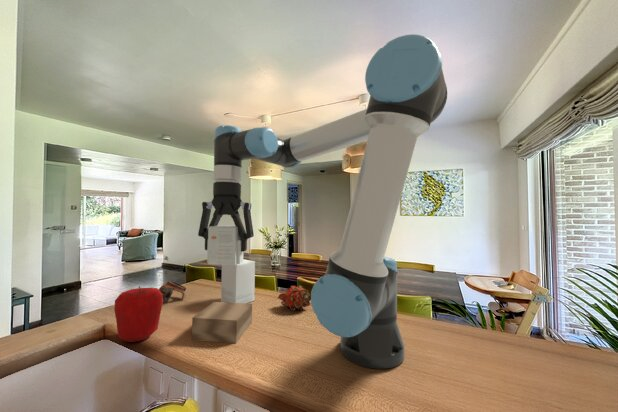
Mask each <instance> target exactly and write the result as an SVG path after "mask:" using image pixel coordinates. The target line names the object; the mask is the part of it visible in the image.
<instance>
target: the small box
mask: <svg viewBox="0 0 618 412" xmlns="http://www.w3.org/2000/svg"><path fill="white" fill-rule="evenodd" d="M238 240H240V236H239V234H238V227H236V226H235V225H217V226H210V227H209V226H208V263H207V265H210V266H211V265H214V266H216V265H217V266H219V265H220V266H222V265H237V247H238Z"/></svg>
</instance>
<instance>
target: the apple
mask: <svg viewBox="0 0 618 412" xmlns="http://www.w3.org/2000/svg"><path fill="white" fill-rule="evenodd" d="M163 304H164V303H163V296H162V293H161V292H160V291H159V288H157V287H141V286H140V285H138V287H137V288H131V289H128V290H126V291H123V292H121V293H120V294H119V295H118V296H117V297H116V298H115V300H114V314H115V320H116V330H117V337H118V338H119V339H121V340H123V341H124V342H128V343H133V342H134V343H135V342H139V341H143V340H146V339H148V338H149V337H150V336H151V335H153V334H154V333H155V332H156V331H157V330H158V328H159V323H160V318H161V312H162V308H163Z"/></svg>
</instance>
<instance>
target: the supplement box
mask: <svg viewBox="0 0 618 412" xmlns="http://www.w3.org/2000/svg"><path fill="white" fill-rule="evenodd" d="M255 276H256V260H250V259H249V260H248V259H244V258H243V263H241V264H237V265H221V281H220V282H221V283H220V287H221V289H220V292H221V294H220V296H221V297H220V302H228V303H246V304H250V303H252V302H255V288H256V287H255V285H256V284H255V283H256V282H255V281H256V280H255V279H256V277H255Z"/></svg>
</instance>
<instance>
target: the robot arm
mask: <svg viewBox="0 0 618 412" xmlns="http://www.w3.org/2000/svg"><path fill="white" fill-rule="evenodd" d="M364 82H365V86H366V91H367V93H368V95H370V96H369V100H368V104H367V108H365V109H362V110H360V111H357V112H355V113H354V112H353V113H352V114H350V115H347V116H343V117H341V118H338V119H337V120H336V119H335V120H334V121H331V122H329V123H325V124H323V125H320V126H318V127H315V128H312V129H310V130H307V131H304V132H302V133H299V134H296V135H294V136H292V137H289V138H286V139H282V138H279V137H277V134H276V133H275V132H274V130H273V129H272V128H270V127H267V126H262V127H253V128H250V129H246V130H242V129H240V128H239V127H237V126H235V125H225V124H224V125H219V126H217V127H216V128H215V131H214V132H215V133H214V140H213V146H214V147H213V148H214V149H213V151H214V152H213V153H214V154H213V177H212V178H213V182H214V183H212V184H213V187H212V189H213V190H212V194H213V197H212V200H211V201H203V202H202V203H201V207H202V212H201V217H200V222H199V228H198V232H197V233H198V234H197V236H198V237H201V238H203V239H204V251H206V253H207V254H206V256H207V257H206V263H207V264H208V227H210V226H219V223H220V220H221V218H222V217H223V216H230V218H231V219H232V221H233V223H234V226H236V227H238V234H239V236H240V240H238V247H237V264H241V263H243V259H244V254H245V252H246V251H247V249H248V247H247V246H248V240H249V239H251V238H253V237H254V236H255V235H254V228H253V227H254V226H253V221H252V215H251V213H252V212H251V209H252V203H251V202H243V201H242V198H241V195H242V184H241V183H240V182H241V181H242V161H245V160H257V161H261V162H264V163H268V164H272V165H273V164H274V165H277V166H281V167H282V168H286V169H287V168H290V169H291V168H292V169H294V168H297V167H298V166H299V165H300V164H301V163H302V161H306V160H309V159H313V158H316V157H320V156H322V155H327V154H329V153H332V152H336V151H339V150H343V149H346V148H349V147H352V146H355V145H359V144H362V143H365V142H366V146H365V148H364V152H363V157H362V161H361V164H360V168H359V171H358V177H357V180H356V184H355V187H354V192H353V196H352V199H351V203H350V207H349V211H348V215H347V219H346V222H345V227H344V231H343V234H342V239H341V242H340V245H339V248H338V249H336V250H334V251H333V252H331V253H330V255H329V258H328V262H327V267H326V271H325V274H324V275H322V276H320V277H319V278H318V279H317V281H316V282H315V283H314V284H313V286H312V288H311V293H310V296H311V300H310V305H311V307H312V312H313V313H314V314H315V316H316V319H317V321H318V322H319V324H320V325H321V326H322V327H323V328H324V329H326V330H327V331H328V332H329V333H331V334H333V335H335V336H338V337H340V340H339V341H340V343H339V344H340V347H339V348H340V352H341V353H342V355H343V356H344V357H345V358H347V360H349V361H351V362H352V363H355V364H356V365H358V366H359V365H360V366H362V367H365V368H371V369H383V370H384V369H385V370H386V369H391V368H394V367H398V366H399V365H401V364H402V363H403V361H404V360H405V343H404V340H403V337H402V334H401V331H400V328H399V324H398V316H397V315H398V274H399V271H398V264H397V261H396V260H395V259H394V258H391V257H387V256H386V257H385V254H386V251H387V249H388V244H389V241H390V237H391V235H392V234H391V233H392V230H393V227H394V222H395V219H396V215H397V211H398V208H399V205H400V202H401V201H400V200H401V197H402V194H403V190H404V187H405V182H406V179H407V176H408V172H409V169H410V165H411V162H412V158H413V154H414V151H415V147H416V143H417V140H418V138H419V137H420V136H421V135H423V134H425V133H427V132H428V131H429V130H430V126H431V124H432V123H434V121H436V120H437V118H439V116H440V115H441V114H442V113H443V110H444V108H445V106H446V104H447V100H448V86H447V83H446V80H445V75H444V71H443V58H442V55H441V53H440V51H439V50H438V47H437V46H436V44H435V42H433V41H432V40H431V39H430V38H429V37H427V36H424V35H420V34H405V35H401V36H397V37H395V38H393V39H391V40H389V41H388V42H387V43H386V44H385V45H383V46H382V47H380V48H378V50H377V51H376V52H375V53H374V55H373V56H372V57H371V59H370V60H369V62H368V65H367V66H366V69H365V76H364ZM240 207H241V209H242V210H243V219H244V224H243V221H242V219H241V215H240V212H239V209H240ZM212 208H214V209H215V210H214V212H213V214H212V213H211V212H212ZM211 214H212V218H211ZM210 219H211V220H210ZM244 225H245V226H244Z"/></svg>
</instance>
